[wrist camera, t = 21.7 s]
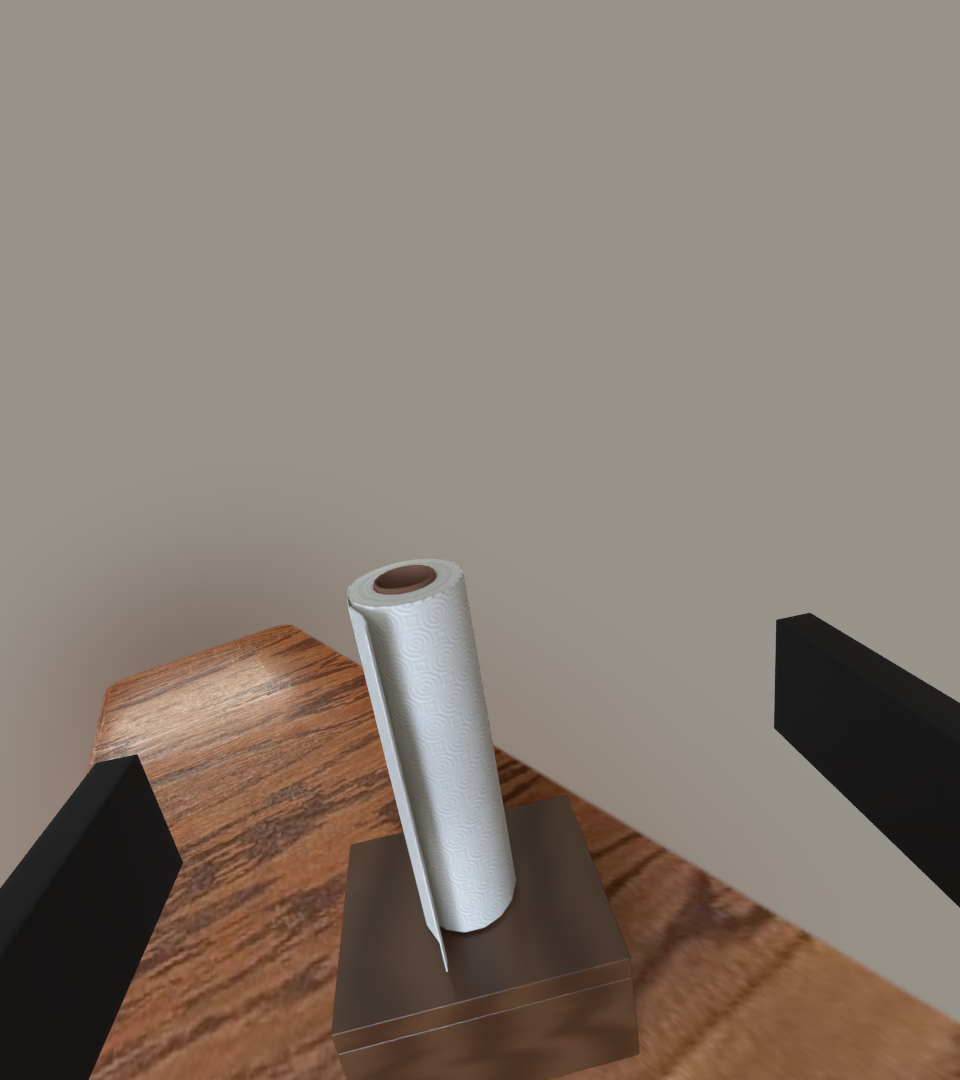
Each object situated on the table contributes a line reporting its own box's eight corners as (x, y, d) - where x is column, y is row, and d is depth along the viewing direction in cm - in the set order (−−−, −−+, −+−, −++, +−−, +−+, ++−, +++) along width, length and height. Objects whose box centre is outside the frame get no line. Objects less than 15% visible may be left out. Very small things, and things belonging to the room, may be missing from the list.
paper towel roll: (473, 832, 39) (417, 547, 32) (537, 883, 35) (487, 566, 28) (387, 905, 35) (302, 594, 28) (447, 975, 30) (362, 625, 24)
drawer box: (577, 875, 44) (567, 794, 41) (639, 1054, 32) (631, 958, 30) (373, 924, 42) (350, 844, 40) (364, 1130, 31) (330, 1035, 28)
